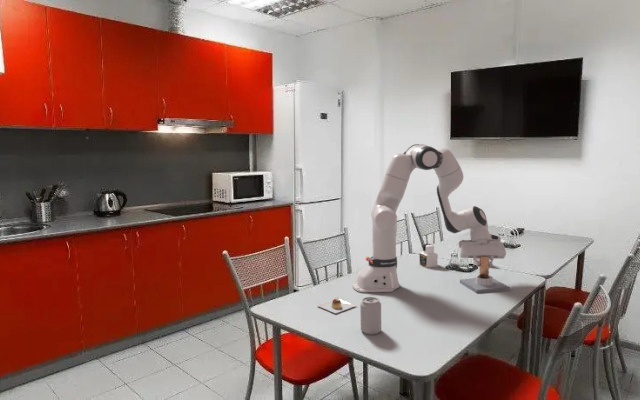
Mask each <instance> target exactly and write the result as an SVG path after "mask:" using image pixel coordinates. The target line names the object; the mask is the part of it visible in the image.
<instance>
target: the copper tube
mask: <svg viewBox="0 0 640 400" xmlns="http://www.w3.org/2000/svg"><path fill="white" fill-rule="evenodd" d="M489 273H490V266H489V257H488V256H480V267H479V275H480V278H482V279H488V278H489V275H490V274H489Z"/></svg>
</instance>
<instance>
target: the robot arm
mask: <svg viewBox="0 0 640 400" xmlns="http://www.w3.org/2000/svg"><path fill="white" fill-rule="evenodd" d="M415 169H418V170H424V171H430V170H434V171H435V174H436V177H437V178H438V185H437V186H436V194H437V195H436V196H437V199H438V203H439V206H440V209H441V212H442V217H443V221H444V225H445V229H446V230H447V231H448V232H450V233H452V234H458V233H460V232H463V231H466V230H469V232H470V235H469V238H470V239H461V240H460V241H458V247H459V248H460V250H459V256H460V257H461V259H462V258H473V260H474V262H475V263H476V266H475V267H478V266H480V261H478V260H477V258H480V256H488V257H489V258H490V261H489V267H493V262H494V259H496V260H497V259H498V260H500V259H501V260H502V259H503V260H504V259H505V258H506V255H507V251H506V247H505V246H504V243H503V241H501V236H500V235H496V234H495V235H494V234H492V233H490V232H489V230H488V229H489V226H488V225H489V224H488V220H487V216H486V214H485V212H484V210H483V209H482V208H480V207H478V206H476V205H475V206H469V207H467V208H464V209H460V210H457V211H452V208H451V207H452V206H451V204H450V200H449V196H450V195H451V194H452V193H453V192H455V191H456V190H457V189H458V188H459V187H460V185H462V183H463V181H464V173H463V171H462V167H461V165H460V164H459V161H458V160H457V158H456V157H455V155H454V153H452V152H451V150H450V149H448V148H440V149H436V148H434V147H433V146H430V145H426V144H420V143H417V144H416V143H415V144H413V145H410V146H409V147H408V148H407V149H406V150H405V151H404V152H403V153H396V154H394V155H393V157H392V158H391V160H390V162H389V164H388V166H387V169H386V171H385V173H384V177H383V180H382V183H381V186H380V190H379V192H378V194H377V196H376V199H375V202H374V205H373V207H372V210H371V219H372V220H371V221H372V235H371V236H372V238H371V239H372V240H371V241H372V247H371V249H372V254H371V255H372V256H371V257H369V256H366V257H365V260H366V262H368V264H367V265H366V266H365V267H363V269H361V270H359V272H358V273H357V276H356V281H355V280H354V281H353V282H352V283H351V284H352V286H351V287H352V288H353V289H354V290H355V291H356V292H358V293H391V292H392V293H393V292H394V291H395V290H396V289H398V288H399V287H400V286H401V285H400V282H399V278H398V271H397V268H398V257H397V228H398V226H397V225H398V216H397V214H396V213H397V210H398V208H399V207H400V203H401V201H402V200H403V198H404V195H405V192H406V189H407V186H408V183H409V180H410V176H411V174H412V173H413V171H414V170H415Z"/></svg>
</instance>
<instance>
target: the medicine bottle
mask: <svg viewBox="0 0 640 400" xmlns="http://www.w3.org/2000/svg"><path fill="white" fill-rule="evenodd" d="M438 255H439V254H438V253H437V252H435V245H434V244H432V243H424V244H423V245H422V251H420V252H419V265H420V266H421V267H424V268H426V269H429V268H436V267H437V268H438V262H439V260H438Z"/></svg>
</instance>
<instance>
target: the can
mask: <svg viewBox="0 0 640 400" xmlns="http://www.w3.org/2000/svg"><path fill="white" fill-rule="evenodd" d="M359 307H360V330H361V331H362V332H363V333H364V334H365V335H368V336H369V335H370V336H372V335H377V334H379V333H380V332H381V331H382V303H381V302H380V299H379V298H377V297H376V296H366V297H363V298H362V299H361V302H360V305H359Z"/></svg>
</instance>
